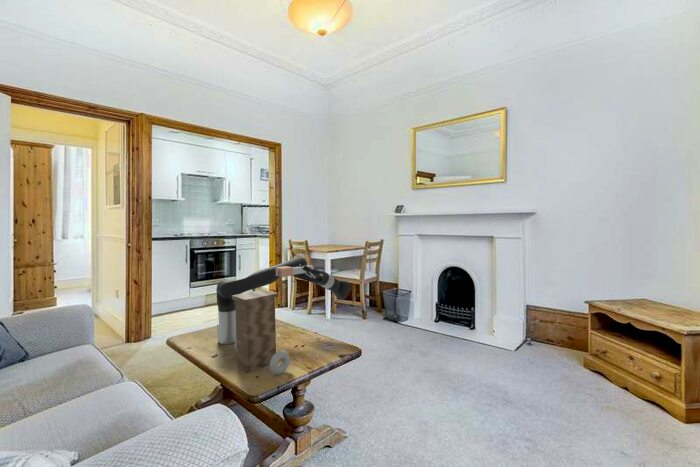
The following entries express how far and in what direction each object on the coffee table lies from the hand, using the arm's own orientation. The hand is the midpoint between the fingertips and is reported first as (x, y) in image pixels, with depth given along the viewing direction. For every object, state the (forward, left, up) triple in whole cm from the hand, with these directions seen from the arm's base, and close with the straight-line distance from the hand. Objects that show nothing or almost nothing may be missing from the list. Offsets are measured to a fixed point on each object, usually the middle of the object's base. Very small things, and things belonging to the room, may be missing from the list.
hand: (301, 266), depth 167 cm
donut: (+4, -29, -42) cm, 51 cm away
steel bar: (-1, -3, -3) cm, 5 cm away
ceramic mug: (-24, -14, -42) cm, 50 cm away
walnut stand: (-11, -24, -41) cm, 49 cm away
